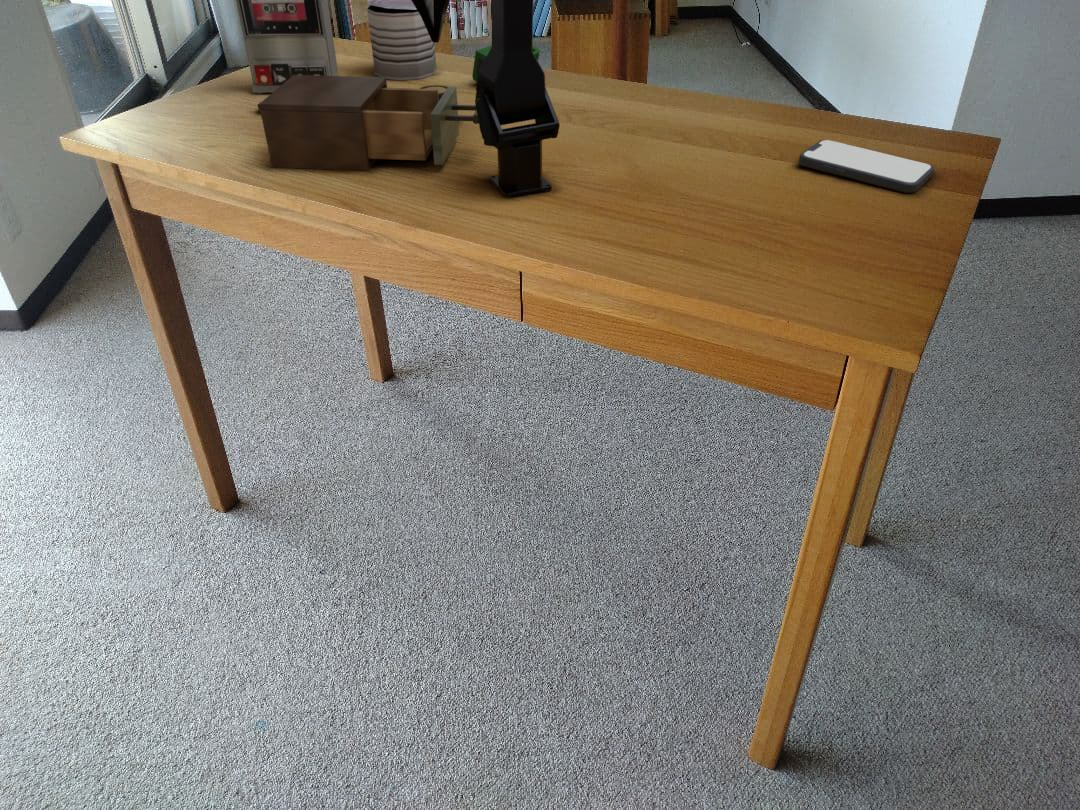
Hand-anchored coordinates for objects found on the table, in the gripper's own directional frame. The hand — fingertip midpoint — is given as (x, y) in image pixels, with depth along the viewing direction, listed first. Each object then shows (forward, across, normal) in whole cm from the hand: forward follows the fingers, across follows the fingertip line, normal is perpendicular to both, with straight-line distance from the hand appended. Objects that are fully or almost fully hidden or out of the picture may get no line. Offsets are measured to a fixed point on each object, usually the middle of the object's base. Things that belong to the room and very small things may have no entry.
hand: (435, 41), depth 119 cm
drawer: (+11, 0, +11) cm, 16 cm away
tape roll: (+12, +1, -3) cm, 13 cm away
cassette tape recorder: (+13, +29, -18) cm, 36 cm away
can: (+13, +12, -30) cm, 35 cm away
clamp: (+13, -7, -25) cm, 29 cm away
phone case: (+12, -60, +12) cm, 63 cm away
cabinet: (+12, +13, +11) cm, 21 cm away
